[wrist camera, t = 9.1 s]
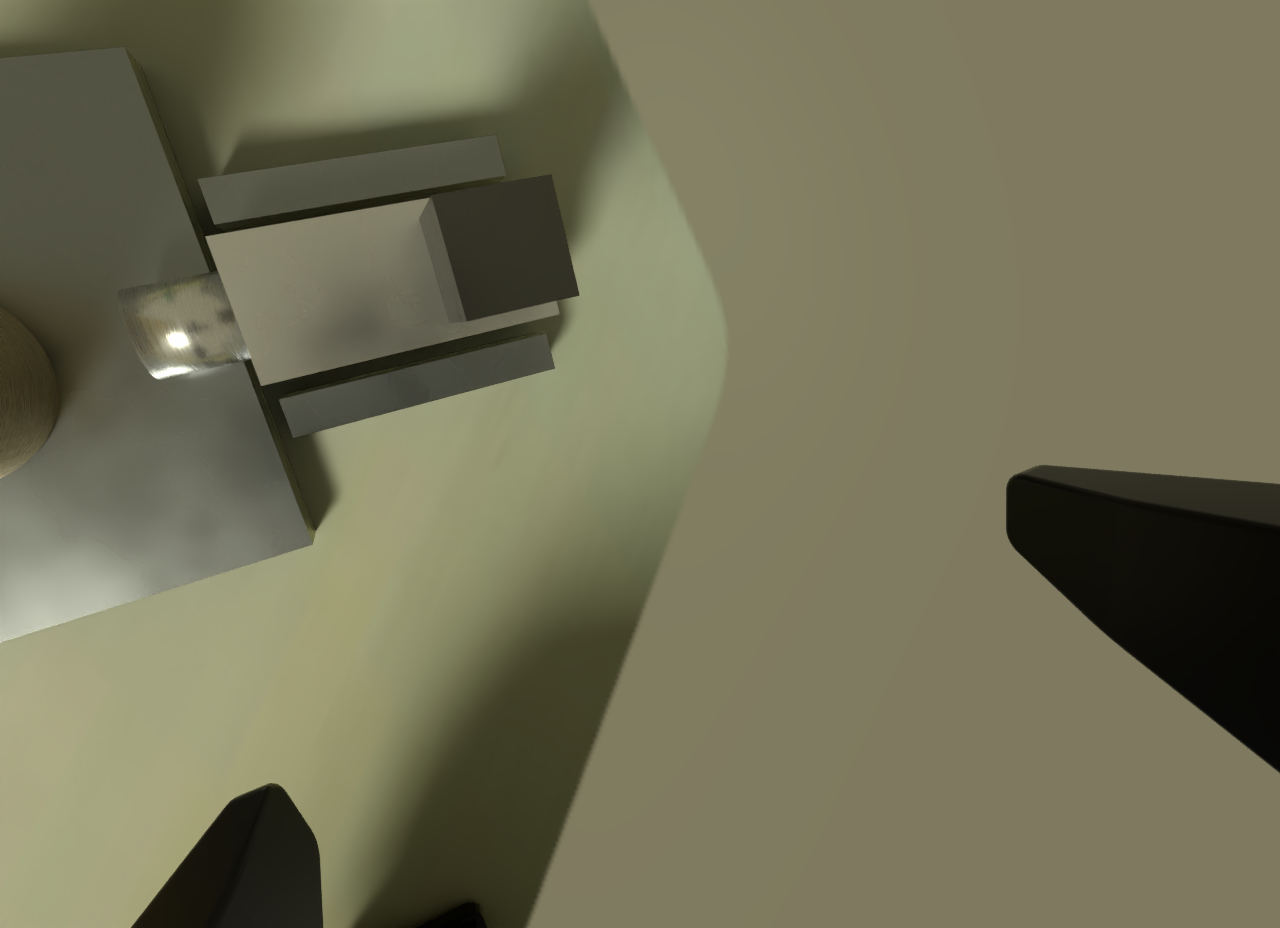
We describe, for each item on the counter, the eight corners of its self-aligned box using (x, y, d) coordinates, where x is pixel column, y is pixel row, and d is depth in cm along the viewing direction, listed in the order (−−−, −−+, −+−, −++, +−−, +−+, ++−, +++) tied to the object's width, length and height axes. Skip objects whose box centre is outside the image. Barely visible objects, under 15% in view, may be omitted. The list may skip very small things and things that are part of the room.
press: (564, 455, 22) (603, 479, 18) (-227, 699, 16) (-396, 805, 12) (456, 34, 18) (478, -35, 15) (-598, 139, 12) (-976, 64, 9)
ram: (540, 315, 19) (597, 311, 14) (182, 401, 16) (111, 429, 12) (510, 195, 18) (560, 150, 14) (126, 264, 15) (26, 237, 11)
